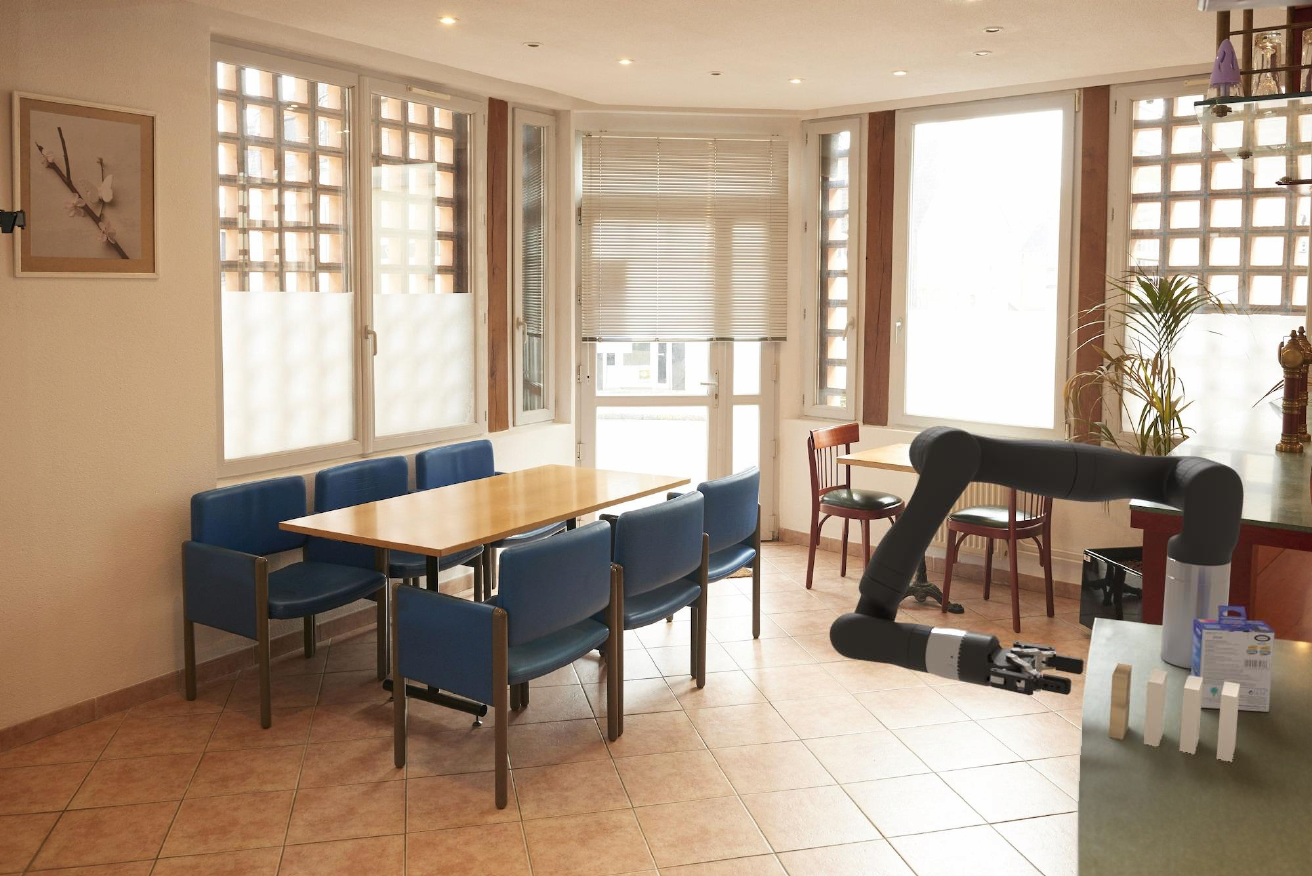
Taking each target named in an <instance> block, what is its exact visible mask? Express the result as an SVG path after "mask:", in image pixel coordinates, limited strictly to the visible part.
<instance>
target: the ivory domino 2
mask: <svg viewBox="0 0 1312 876" xmlns="http://www.w3.org/2000/svg"><path fill="white" fill-rule="evenodd" d="M1202 686H1203V678H1202V677H1196V676H1191V674H1190V675H1189V674H1188V676H1187V677H1186V681H1185V683H1184V686H1183V694H1182V695H1183V698H1182V710H1181V711H1182V713H1181V726H1180V739H1179V752H1180V751H1183V752H1182V753H1185V752H1188V753H1187V754H1189V753H1191V754H1190V755H1194V754H1196V752H1197V748H1196V747H1198V743H1199V741H1198V740H1199V739H1200V724H1201V712H1202V708H1201V700H1202Z"/></svg>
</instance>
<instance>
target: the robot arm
mask: <svg viewBox="0 0 1312 876" xmlns="http://www.w3.org/2000/svg"><path fill="white" fill-rule="evenodd" d="M908 458H909V461H910V464H911V466H912V468H913V469H914V471H915V472H916V473H917V474H918V475H919V477H918V480H917V483H916V485H915V489H914V490H913V493H912V494H911V497H910V499H909V501H908V502H907V504H906V505H905V507H904V508H903V509H904V510H903V511H902V512H901V513H900V515H899V516H898V517H897V519H895V522H894V523H893V524H892V525H891V526H890V528H889V529H888V530H887V532H886V533H885V534H884V536H883V537H882V538H881V540H880V542H879V543H878V544H877V547H876V548H875V550H874V552H873V554H872V555H871V558H870V560H869V562H868V564H867V566H866V568H865V570H864V572H863V574H862V576H861V579H860V581H859V583H858V591H859V593H860V596H859V599H858V602H857V604H856V608H855V610H854V612H849V613H845V614H842V615H839V617H837V618H836V619H835V620H834V621H833V622H832V624H831V626H830V629H829V633H828V635H829V640H830V643H831V645H832V647H833V649H834V650H835V651H836V652H837V653H838V654H839V655H840V656H843V657H844V658H847V659H851V660H858V661H862V662H863V661H865V662H871V663H880V664H887V665H893V666H897V667H899V668H904V669H907V670H910V671H911V670H912V671H914V672H921V673H925V674H931V675H935V676H937V677H940V678H943V679H948V680H951V681H952V680H953V681H957V682H962V683H968V684H973V685H978V686H981V687H982V686H984V687H991V688H994V689H999V690H1002V691H1003V690H1004V691H1007V692H1013V693H1018V694H1021V695H1026V696H1033V695H1034V692H1036V693H1037V692H1038V693H1039V692H1042V691H1044V692H1045V691H1046V692H1050V693H1055V694H1060V695H1065V696H1067V695H1070V694H1071V692H1072V680H1071V679H1070V678H1069V677H1064V676H1059V675H1054V674H1050V673H1049V674H1048V673H1043V674H1042V672H1043V671H1050V670H1055V671H1058V672H1064V673H1068V674H1069V673H1070V674H1074V675H1081V674H1083V673H1084V664H1085V662H1084V660H1083V659H1082V658H1081V657H1073V656H1069V655H1063V654H1057V652H1056V651H1055V650H1056V649H1055V647H1054V646H1049V645H1042V644H1036V643H1030V642H1023V641H1013V642H1012V648H1008V647H1007V648H1005V647H1002V646H1001V645H1000V639H999V638H998V637H997V636H996V635H994V634H988V633H983V632H982V633H981V632H977V631H971V630H964V629H959V628H952V627H938V626H932V625H927V624H921V623H913V622H897V621H896V618H897V614H898V610H899V606H900V604H901V602H902V600H903V598H904V596H905V594H906V592H907V590H908V588H909V586H910V584H911V582H912V580H913V578H914V575H915V574H916V572H917V570H918V568H919V565H920V564H921V562H922V560H923V558H924V556H925V554H926V552H927V550H928V547H929V546H930V545H931V542H932V541H933V539H934V537H935V536H936V535H937V532H938V530H939V529H940V527H941V525H942V524H943V522H945V519H946V518H947V516H948V515H949V513H950V511H951V510H952V508H953V507H954V506H955V504H956V503H957V501H958V500H959V499H960V497H961V496H962V494H963V493H964V491H966V488H968V486H969V484H970V483H982V484H983V483H986V484H993V485H996V486H997V485H998V486H1003V487H1006V488H1009V489H1012V490H1016V491H1020V492H1024V493H1028V494H1032V495H1035V496H1036V495H1037V496H1041V497H1045V498H1051V499H1057V500H1063V501H1064V500H1065V501H1072V502H1081V503H1102V502H1110V501H1117V500H1126V499H1128V500H1130V499H1131V500H1139V501H1144V502H1150V503H1155V504H1159V505H1163V506H1166V507H1171V508H1174V509H1176V510H1178V511H1181V512H1183V517H1182V524H1181V530H1180V533H1179V534H1176V535H1172V536H1171V537H1170V538H1169V539H1168V541H1167V549H1166V550H1167V551H1166V567H1165V581H1164V582H1165V583H1164V597H1163V599H1164V601H1163V612H1162V613H1163V615H1162V629H1161V630H1162V631H1161V644H1160V645H1161V646H1160V657H1161V660H1164V661H1165V662H1166V663H1169V664H1171V665H1174V666H1177V667H1180V668H1186V669H1191V668H1192V648H1193V622H1194V619H1210V620H1219V618H1218V605H1222V606H1229V595H1230V594H1229V593H1230V581H1231V579H1230V578H1231V565H1232V555H1233V552H1234V550H1235V548H1236V547H1237V544H1238V541H1239V537H1240V531H1241V523H1242V516H1243V506H1244V496H1245V495H1244V493H1245V492H1244V485H1243V481H1242V479H1241V476H1240V475H1239V473H1238V472H1237V471H1236V470H1235V469H1233V468H1232V467H1230V466H1229V465H1226V464H1223V463H1221V462H1217V461H1215V460H1211V459H1208V458H1207V457H1201V456H1197V455H1196V456H1194V455H1191V456H1189V455H1183V456H1181V455H1145V454H1138V453H1137V454H1135V453H1131V452H1127V451H1123V450H1120V449H1117V448H1116V449H1115V448H1111V447H1108V446H1107V447H1105V446H1100V445H1094V444H1089V443H1080V442H1074V441H1066V440H1050V439H1032V438H1031V439H1026V438H1023V439H1022V438H1021V439H1018V438H1015V439H1007V438H1006V439H1005V438H996V437H989V436H983V435H979V434H974V433H970V432H968V431H966V430H963V429H960V428H957V427H952V426H946V425H937V426H932V427H929V428H927V429H924V430H923V431H921V432H920V433H918V434H917V435H916V436H915V437H914V439H912V442H911V444H910V446H909V451H908ZM1223 615H1224V616H1228V611H1226V612H1223Z"/></svg>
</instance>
